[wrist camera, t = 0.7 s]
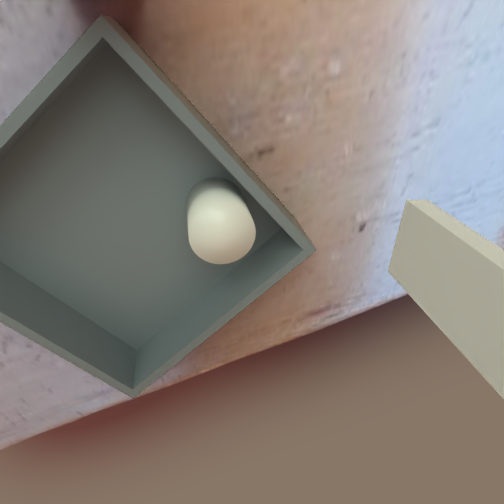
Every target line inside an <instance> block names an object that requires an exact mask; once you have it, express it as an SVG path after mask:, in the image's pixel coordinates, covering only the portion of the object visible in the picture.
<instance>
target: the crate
mask: <svg viewBox="0 0 504 504" xmlns="http://www.w3.org/2000/svg"><path fill="white" fill-rule="evenodd" d="M212 177H219V178H224V179H227V180H229V181H231V182H232V183H234V184H235V185H236V186H237V187H238V188H239V190H240V191H241V193H242V196H243V198H244V200H245V203H246V205H247V207H248V210H249V212H250V214H251V217H252V219H253V222H254V224H255V229H256V236H255V241H254V243H253V246H252V247H251V249H250V250H249V252H248V253H247V254H246V255H245V256H243V257H242V258H240V259H239V260H237V261H235V262H232V263H228V264H213V263H209V262H207V261H204V260H203V259H201V258H200V257H198V256H197V255H196V254H195V252H194V251H193V250H192V248H191V246H190V243H189V237H188V223H187V209H186V201H187V197H188V194H189V192H190V191H191V189H192V188H193V187H194V186H195V185H196V184H197V183H198V182H200V181H202V180H204V179H207V178H212ZM315 251H316V248H315V247H314V245H313V244H312V242H311V241H310V239H309V238H308V236H307V235H306V233H305V232H304V230H303V229H302V227H301V226H300V224H299V223H298V221H297V220H296V219H295V218H294V216H293V215H292V214H291V213H290V212H289V211H288V210H287V209H286V208H285V206H284V205H283V204H282V203H281V202H280V201H279V200H278V199H277V198H276V196H275V195H274V194H273V193H272V192H271V191H270V190H269V189H268V188H267V187H266V185H265V184H264V183H263V182H262V181H261V180H260V179H259V178H258V177H257V175H256V174H255V173H254V172H253V171H252V170H251V169H250V168H249V167H248V165H247V164H246V163H245V162H244V161H243V160H242V159H241V158H240V157H239V156H238V154H237V153H236V152H235V151H234V150H233V149H232V148H231V147H230V146H229V144H228V143H227V142H226V141H225V140H224V139H223V138H222V137H221V136H220V135H219V133H218V132H217V131H216V130H215V129H214V128H213V127H212V126H211V125H210V123H209V122H208V121H207V120H206V119H205V118H204V117H203V116H202V115H201V113H200V112H199V111H198V110H197V109H196V108H195V107H194V106H193V105H192V104H191V102H190V101H189V100H188V99H187V98H186V97H185V96H184V95H183V94H182V92H181V91H180V90H179V89H178V88H177V87H176V86H175V85H174V84H173V82H172V81H171V80H170V79H169V78H168V77H167V76H166V75H165V74H164V73H163V71H162V70H161V69H160V68H159V67H158V66H157V65H156V64H155V63H154V61H153V60H152V59H151V58H150V57H149V56H148V55H147V54H146V53H145V51H144V50H143V49H142V48H141V47H140V46H139V45H138V44H137V43H136V42H135V40H134V39H133V38H132V37H131V36H130V35H129V34H128V33H127V32H126V30H125V29H124V28H123V27H122V26H121V25H120V24H119V23H118V22H117V20H116V19H115V18H112V17H108V16H104V15H100V16H99V17H98V18H97V19H96V20H95V21H94V23H93V24H92V25H91V26H90V27H89V28H88V29H87V30H86V31H85V33H84V34H83V35H82V36H81V37H80V38H79V39H78V40H77V41H76V43H75V44H74V45H73V46H72V47H71V48H70V49H69V50H68V51H67V53H66V54H65V55H64V56H63V57H62V58H61V59H60V60H59V61H58V63H57V64H56V65H55V66H54V67H53V68H52V69H51V70H50V71H49V73H48V74H47V75H46V76H45V77H44V78H43V79H42V80H41V81H40V83H39V84H38V85H37V86H36V87H35V88H34V89H33V90H32V91H31V93H30V94H29V95H28V96H27V97H26V98H25V99H24V100H23V101H22V102H21V104H20V105H19V106H18V107H17V108H16V109H15V110H14V111H13V112H12V114H11V115H10V116H9V117H8V118H7V119H6V120H5V121H4V122H3V124H2V125H1V126H0V322H2V323H3V324H5V325H7V326H8V327H10V328H12V329H14V330H15V331H17V332H19V333H21V334H22V335H24V336H26V337H28V338H29V339H31V340H33V341H34V342H36V343H38V344H40V345H41V346H43V347H45V348H47V349H48V350H50V351H52V352H54V353H55V354H57V355H59V356H60V357H62V358H64V359H66V360H67V361H69V362H71V363H73V364H74V365H76V366H78V367H80V368H81V369H83V370H85V371H86V372H88V373H90V374H92V375H93V376H95V377H97V378H99V379H100V380H102V381H104V382H106V383H107V384H109V385H111V386H112V387H114V388H116V389H118V390H119V391H121V392H123V393H125V394H126V395H128V396H130V397H132V398H135V397H136V396H137V395H138V394H140V393H141V392H142V391H143V390H144V389H146V388H147V387H148V386H149V385H151V384H152V383H153V382H154V381H156V380H157V379H158V378H159V377H161V376H162V375H163V374H164V373H165V372H167V371H168V370H169V369H170V368H172V367H173V366H174V365H175V364H177V363H178V362H179V361H180V360H181V359H183V358H184V357H185V356H186V355H188V354H189V353H190V352H191V351H193V350H194V349H195V348H196V347H198V346H199V345H200V344H201V343H202V342H204V341H205V340H206V339H207V338H209V337H210V336H211V335H212V334H214V333H215V332H216V331H217V330H219V329H220V328H221V327H222V326H223V325H225V324H226V323H227V322H228V321H230V320H231V319H232V318H233V317H235V316H236V315H237V314H238V313H239V312H241V311H242V310H243V309H244V308H246V307H247V306H248V305H249V304H251V303H252V302H253V301H254V300H256V299H257V298H258V297H259V296H260V295H262V294H263V293H264V292H265V291H267V290H268V289H269V288H270V287H272V286H273V285H274V284H275V283H277V282H278V281H279V280H280V279H281V278H283V277H284V276H285V275H286V274H288V273H289V272H290V271H291V270H293V269H294V268H295V267H296V266H297V265H299V264H300V263H301V262H302V261H304V260H305V259H306V258H307V257H309V256H310V255H311V254H312V253H314V252H315Z"/></svg>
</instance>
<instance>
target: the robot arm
mask: <svg viewBox="0 0 504 504" xmlns="http://www.w3.org/2000/svg"><path fill="white" fill-rule="evenodd" d="M388 272H389V273H390V274H391V275H392V276H393V277H394V279H395V280H396V281H397V282H398V283H399V284H400V285H401V286H402V287H403V288H404V290H405V291H406V292H407V293H408V294H409V295H410V296H411V297H412V298H413V300H414V301H415V302H416V303H417V304H418V305H419V306H420V307H421V308H422V309H423V311H424V312H425V313H426V314H427V315H428V316H429V317H430V318H431V319H432V321H433V322H434V323H435V324H436V325H437V326H438V327H439V328H440V329H441V331H442V332H443V333H444V334H445V335H446V336H447V337H448V338H449V339H450V340H451V342H452V343H453V344H454V345H455V346H456V347H457V348H458V349H459V350H460V352H461V353H462V354H463V355H464V356H465V357H466V358H467V359H468V360H469V362H470V363H471V364H472V365H473V366H474V367H475V368H476V369H477V370H478V371H479V373H480V374H481V375H482V376H483V377H484V378H485V379H486V380H487V381H488V383H489V384H490V385H491V386H492V387H493V388H494V389H495V390H496V391H497V392H498V393H499V395H500V396H501V397H502V398H503V399H504V250H503V249H501V248H500V247H498V246H497V245H495V244H494V243H492V242H490V241H489V240H487V239H486V238H484V237H483V236H481V235H480V234H478V233H477V232H475V231H474V230H472V229H471V228H469V227H468V226H466V225H465V224H463V223H462V222H460V221H459V220H457V219H456V218H454V217H453V216H451V215H450V214H448V213H447V212H445V211H444V210H442V209H441V208H439V207H438V206H436V205H434V204H433V203H431V202H430V201H428V200H406V203H405V207H404V211H403V215H402V219H401V223H400V226H399V230H398V234H397V238H396V242H395V246H394V250H393V253H392V257H391V261H390V265H389V269H388Z"/></svg>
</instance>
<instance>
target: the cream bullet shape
mask: <svg viewBox="0 0 504 504" xmlns="http://www.w3.org/2000/svg"><path fill="white" fill-rule="evenodd" d="M186 209H187V223H188V237H189V243H190V246H191V248H192V250H193V251H194V252H195V254H196V255H197V256H198V257H200V258H201V259H203V260H204V261H207V262H209V263H213V264H228V263H232V262H235V261H237V260H239V259H240V258H242V257H243V256H245V255H246V254H247V253H248V252H249V250H250V249H251V247H252V246H253V243H254V241H255V236H256V229H255V224H254V222H253V219H252V217H251V214H250V212H249V210H248V207H247V205H246V203H245V200H244V198H243V196H242V193H241V191H240V190H239V188H238V187H237V186H236V185H235V184H234V183H232V182H231V181H229V180H227V179H224V178H219V177H212V178H207V179H204V180H202V181H200V182H198V183H197V184H196V185H195V186H194V187H193V188H192V189H191V191H190V192H189V194H188V197H187V201H186Z"/></svg>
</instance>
